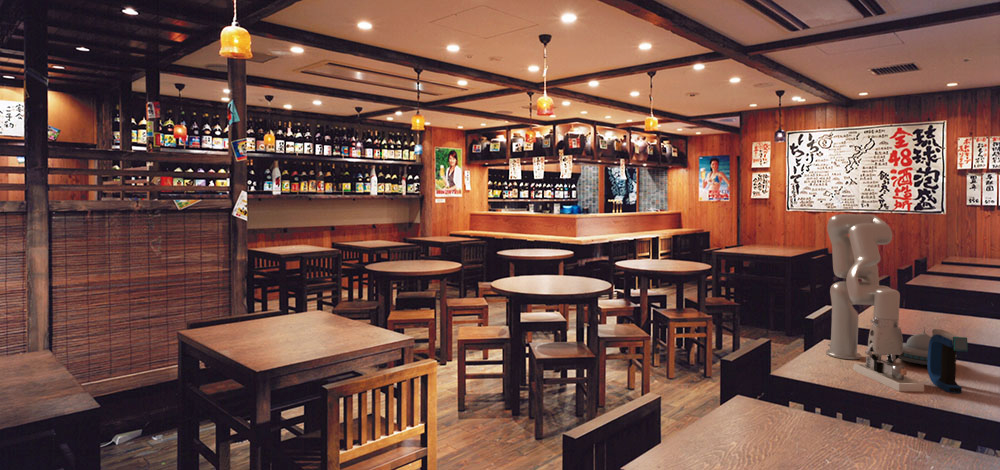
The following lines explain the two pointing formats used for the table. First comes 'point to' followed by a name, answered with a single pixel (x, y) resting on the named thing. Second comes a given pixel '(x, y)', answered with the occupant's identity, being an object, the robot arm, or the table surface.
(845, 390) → the table surface
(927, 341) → the toy
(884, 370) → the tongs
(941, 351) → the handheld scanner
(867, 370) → the tongs rest
